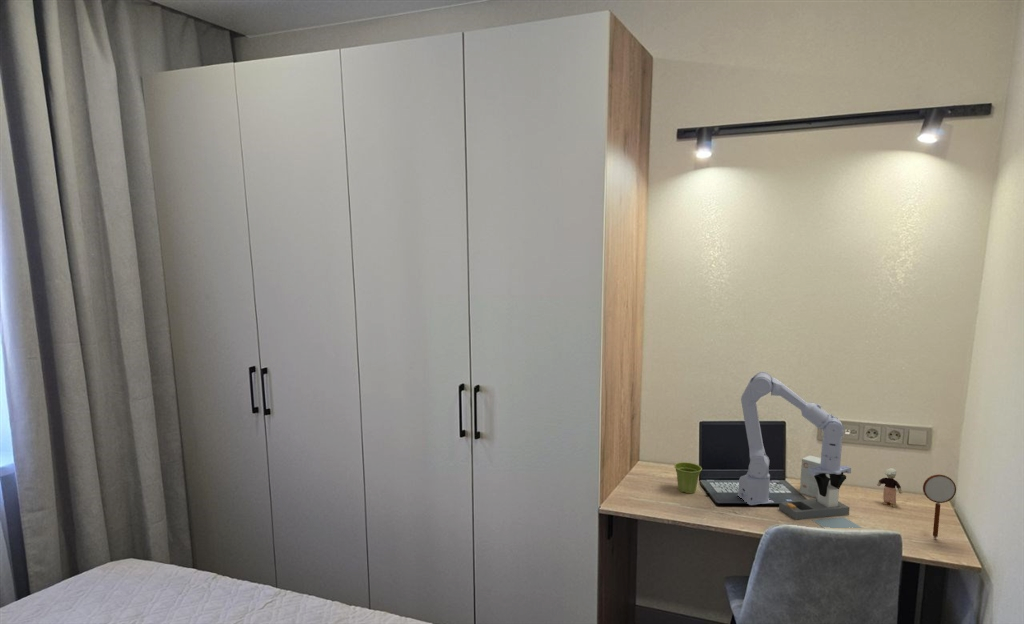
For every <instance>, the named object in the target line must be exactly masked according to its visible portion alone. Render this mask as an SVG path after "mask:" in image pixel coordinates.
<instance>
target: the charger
mask: <svg viewBox="0 0 1024 624" xmlns="http://www.w3.org/2000/svg"><path fill="white" fill-rule="evenodd" d="M839 494H840V488H839V489H838V488H836V487H834V486H832V485H831V483H828V486H827V494H826V497H823V496H822V495H820V493H819V488H818V498H816V499H817V502H819V503H820V504H822V505H824V506H826V507H827V508H832V507H838V501H839V496H840V495H839Z"/></svg>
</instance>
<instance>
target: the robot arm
mask: <svg viewBox="0 0 1024 624" xmlns="http://www.w3.org/2000/svg"><path fill="white" fill-rule="evenodd" d="M768 394H770V396H773V397H774V396H776V397H777V396H779V397H782V398H783V399H784V400H786V401H787V402H788V403H790V404H791V405H793V406H794V407H795V408H797V409H799V410H800V412H801V416H802V418H803V417H804V419H805V420H807V421H808V422H810V423H811V424H813V425H814V426H815V427H816V428H818V429H821V430H823V431H822V432H823V437H822V441H821V452H820V453H821V454H820V458H821V464H820V466H817V467H814V468H809V473H808V474H810V475H812V476H814V477H815V479H816V482H817V484H818V488H819V493H820V495H822V496H823V497H826V494H827V486H828V483H829V481H830V483H831V485H832V486H834V487H836V488H838V489H839V490H840V488H841V486H842V484H843V483H844V482H845V481H846V480H847V475H846V474H851V473H852V467H851V466H848V465H841V464H842V463H841V461H842V460H841V459H842V448H843V446H842V445H843V442H842V441H843V436H844V434H845V431H844V430H845V429H844V427H843V423H842V422H841V420H840V419H839V418H838V417H836V416H834V414H832V413H831V414H830V413H828V412H827V410H825V409H824V408H822V405H821V404H820V403H815V402H807V401H806V400H804V399H803V398H802V397H801V396H800V395H798V394H797V393H796V392H794V391H793V390H792V389H791V388H789V387H788V386H787V385H786V384H784V382H781V381H780V380H778V379H777V378H776V377H774V376H773V377H772V376H771V374H770V373H768V372H766V371H765V372H764V371H760V372H757V373H756V374H755V375H754V376H753V377H751V378H750V380H749V382H748V383H747V386H746V387H745V389H744V391H743V393H742V395H741V398H740V401H741V407H742V408H741V409H742V413H743V418H744V419H743V421H744V425H745V432H746V438H747V443H748V444H747V445H748V449H749V452H748V453H749V465H748V470H747V473H746V474H744V475H741V476H740V477H739V479H738V492H737V495H738V496H739V497H740V498H742V499H743V500H744V501H743V500H742V499H741V500H742V501H743V502H744V503H746V502H747V503H746V505H747V504H748V505H749V506H757V505H760V504H762V505H764V504H774V503H775V501H774V500H773V499H771V500H769V499H770V483H771V482H770V481H771V480H770V479H771V474H770V473H769V471H770V469H769V468H770V467H769V466H770V458H769V456H768V455H767V454H766V450H765V447H764V443H763V442H764V441H763V436H762V428H761V424H760V419H759V413H758V412H759V411H758V407H757V406H758V405H757V402H758V401H759V400H760V399H761V398H763V397H764V396H766V395H768ZM826 474H829V475H830V478H828V477H827V476H826ZM739 497H738V498H739ZM740 498H739V499H740Z"/></svg>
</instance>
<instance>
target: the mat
mask: <svg viewBox="0 0 1024 624" xmlns="http://www.w3.org/2000/svg"><path fill="white" fill-rule="evenodd" d="M811 521H812V522H813V523H815V524H817V525H819V526H820V527H821V528H823V527H830V528H849V527H850V528H852V527H853V528H863V527H862V526H861V525H858V524H857V523H855V522H853V521H852V520H849V519H848V518H846V517H844V516H838V517H827V518H816V519H812V520H811Z"/></svg>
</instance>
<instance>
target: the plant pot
mask: <svg viewBox="0 0 1024 624" xmlns="http://www.w3.org/2000/svg"><path fill="white" fill-rule="evenodd" d="M674 468H675V471H676V479H677V480H676V481H677V489H678V491H680V492H681V493H686V494H694V493H696V491H697V488H698V487H697V486H698V482H699V477H700V475H701V472H702V470H703V468H702V466H701V465H699V464H696V463H692V462H677V463H675V464H674Z"/></svg>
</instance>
